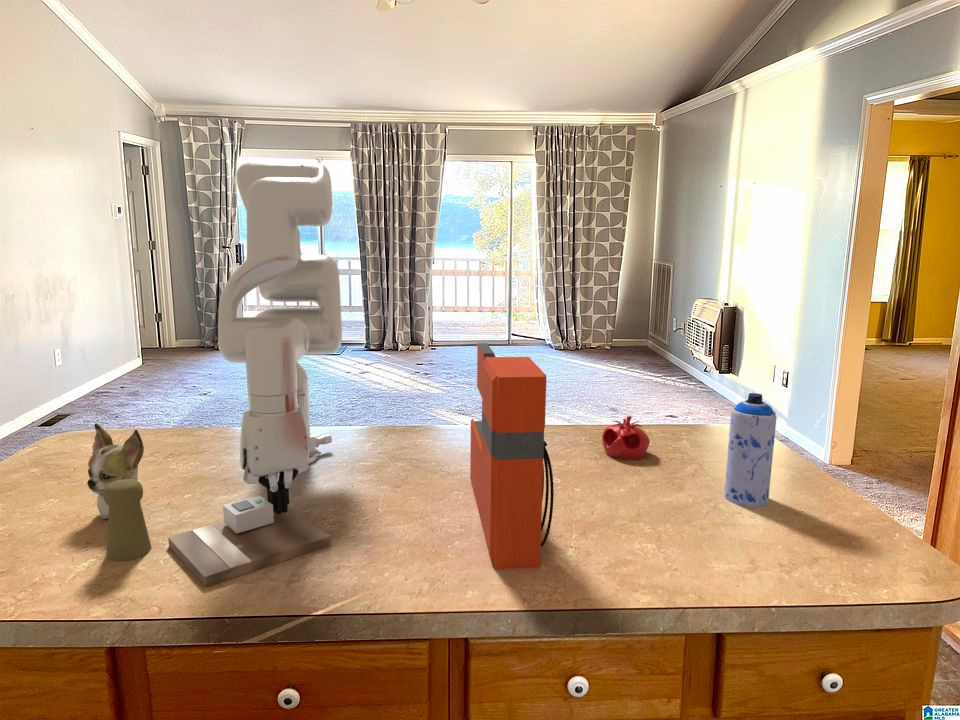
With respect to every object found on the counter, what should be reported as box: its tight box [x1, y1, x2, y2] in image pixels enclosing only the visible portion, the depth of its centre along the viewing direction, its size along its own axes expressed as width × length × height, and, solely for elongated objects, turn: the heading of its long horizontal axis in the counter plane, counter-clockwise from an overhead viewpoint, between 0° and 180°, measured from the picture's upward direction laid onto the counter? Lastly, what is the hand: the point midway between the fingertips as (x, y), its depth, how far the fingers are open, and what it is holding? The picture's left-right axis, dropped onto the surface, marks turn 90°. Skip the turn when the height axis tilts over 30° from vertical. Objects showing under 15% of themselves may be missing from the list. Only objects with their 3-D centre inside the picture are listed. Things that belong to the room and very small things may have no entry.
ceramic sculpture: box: [87, 422, 145, 520], centre depth 111 cm, size 11×9×15 cm
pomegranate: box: [601, 415, 650, 460], centre depth 143 cm, size 10×10×9 cm
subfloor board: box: [167, 506, 332, 588], centre depth 102 cm, size 19×16×2 cm
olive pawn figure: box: [103, 479, 152, 562], centre depth 99 cm, size 6×6×11 cm
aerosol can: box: [723, 392, 777, 508], centre depth 119 cm, size 8×8×20 cm
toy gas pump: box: [469, 342, 555, 570], centre depth 110 cm, size 9×35×28 cm, turn 7°
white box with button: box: [222, 495, 274, 533], centre depth 105 cm, size 6×5×3 cm
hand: (278, 510), depth 109 cm, fingers closed
